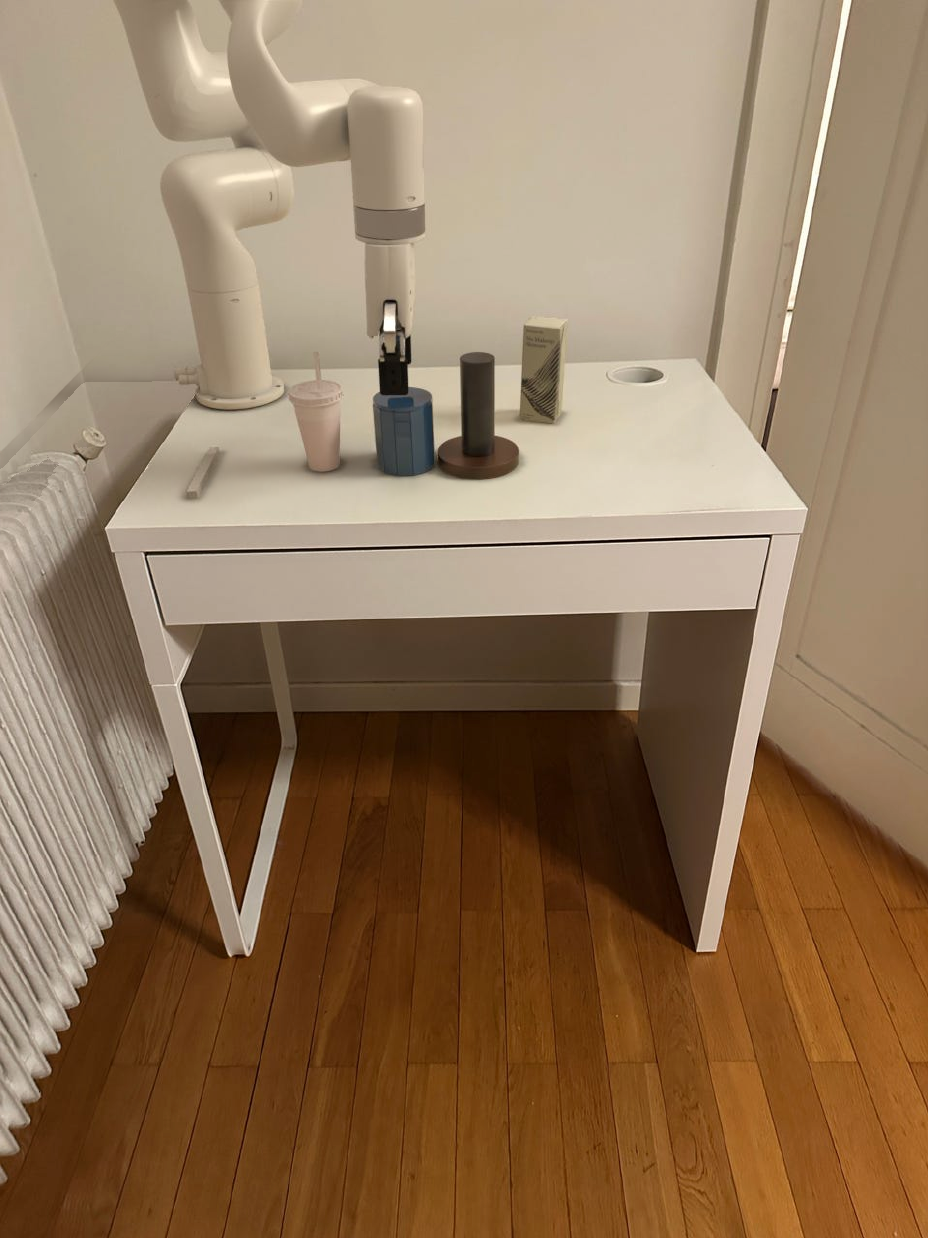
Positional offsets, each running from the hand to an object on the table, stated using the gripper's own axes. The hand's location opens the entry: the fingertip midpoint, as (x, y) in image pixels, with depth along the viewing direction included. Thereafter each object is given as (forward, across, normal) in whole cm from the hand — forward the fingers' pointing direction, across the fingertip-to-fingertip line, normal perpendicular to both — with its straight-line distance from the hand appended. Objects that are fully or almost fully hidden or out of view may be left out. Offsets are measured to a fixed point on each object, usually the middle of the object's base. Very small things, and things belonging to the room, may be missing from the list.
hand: (396, 378), depth 105 cm
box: (+11, -13, +19) cm, 25 cm away
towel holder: (+10, +1, +10) cm, 14 cm away
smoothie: (+11, +1, -9) cm, 14 cm away
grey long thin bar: (+11, +3, -24) cm, 26 cm away
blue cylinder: (+10, +1, +1) cm, 11 cm away
